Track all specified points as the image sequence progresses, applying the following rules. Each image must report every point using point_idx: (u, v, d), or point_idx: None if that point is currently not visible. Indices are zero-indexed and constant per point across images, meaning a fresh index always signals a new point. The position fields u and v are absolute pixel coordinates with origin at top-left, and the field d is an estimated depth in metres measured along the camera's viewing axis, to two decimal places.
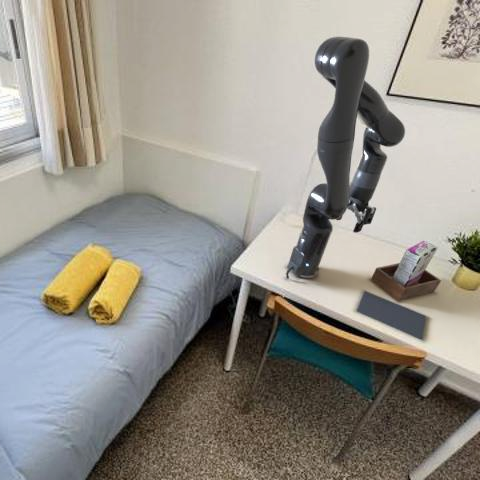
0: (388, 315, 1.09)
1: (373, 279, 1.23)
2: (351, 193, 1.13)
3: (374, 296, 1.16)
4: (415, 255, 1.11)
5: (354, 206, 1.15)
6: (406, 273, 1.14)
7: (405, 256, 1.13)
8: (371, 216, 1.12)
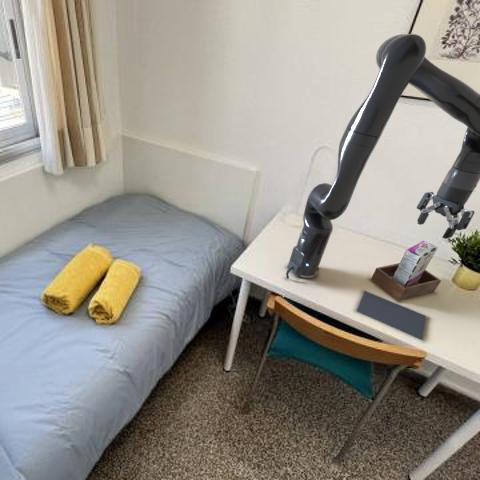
0: (388, 315, 1.09)
1: (373, 279, 1.23)
2: (445, 195, 1.01)
3: (374, 296, 1.16)
4: (415, 255, 1.11)
5: (446, 209, 1.03)
6: (406, 273, 1.14)
7: (405, 256, 1.13)
8: (468, 220, 1.00)
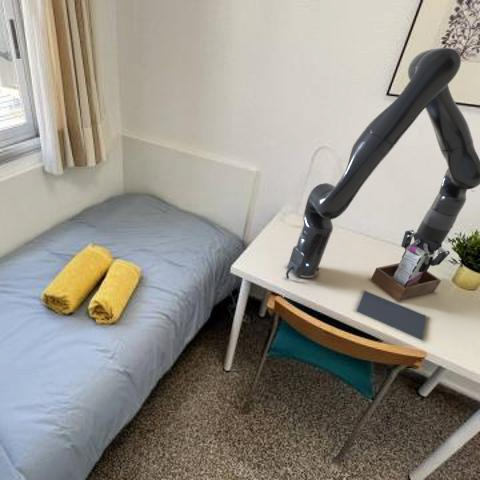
0: (388, 315, 1.09)
1: (373, 279, 1.23)
2: (424, 233, 1.09)
3: (374, 296, 1.16)
4: (415, 255, 1.11)
5: (425, 246, 1.10)
6: (407, 273, 1.14)
7: (405, 256, 1.13)
8: (442, 259, 1.08)
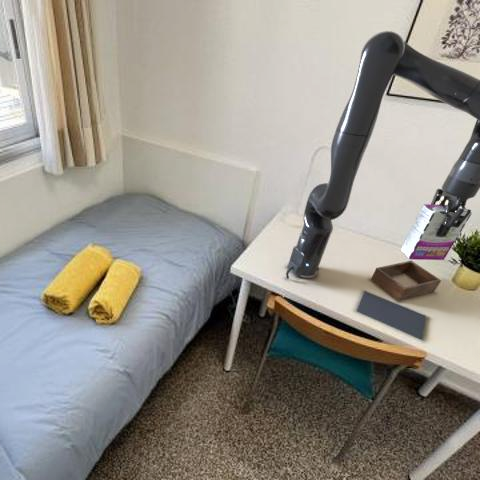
0: (388, 315, 1.09)
1: (373, 279, 1.23)
2: (445, 185, 0.94)
3: (374, 296, 1.16)
4: (429, 211, 0.97)
5: (446, 203, 0.95)
6: (418, 232, 1.00)
7: (421, 212, 1.00)
8: (460, 219, 0.92)
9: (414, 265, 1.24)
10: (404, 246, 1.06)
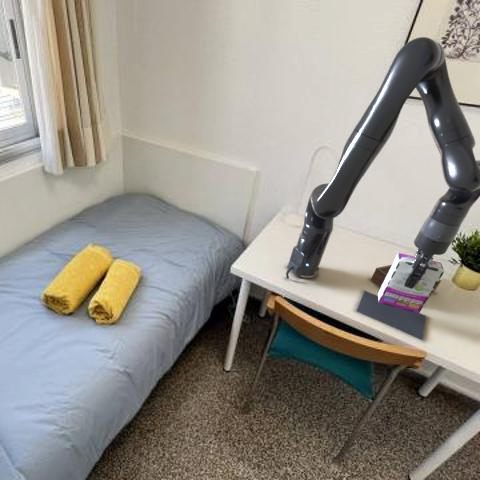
0: (388, 315, 1.09)
1: (373, 279, 1.23)
2: None
3: (374, 296, 1.16)
4: (398, 259, 1.01)
5: (415, 255, 0.98)
6: (388, 278, 1.04)
7: (394, 260, 1.03)
8: (419, 272, 0.95)
9: None
10: (380, 290, 1.10)
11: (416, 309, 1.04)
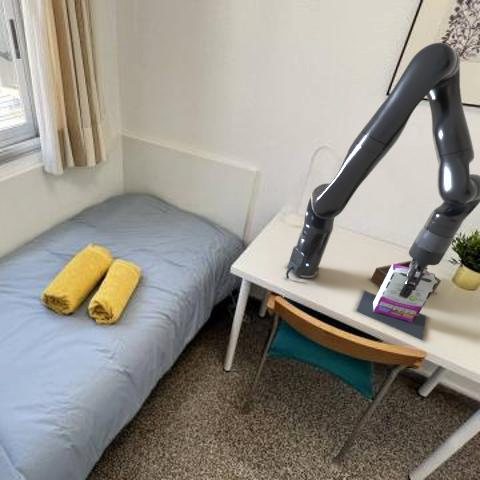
0: None
1: (373, 279, 1.23)
2: (410, 248, 0.99)
3: (374, 296, 1.16)
4: (392, 270, 1.03)
5: (410, 265, 1.00)
6: (383, 288, 1.06)
7: (389, 271, 1.06)
8: (415, 281, 0.95)
9: None
10: (375, 299, 1.12)
11: (410, 319, 1.06)
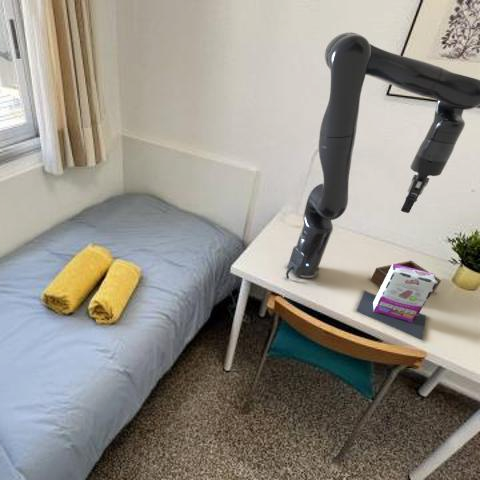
0: None
1: (373, 279, 1.23)
2: (412, 163, 1.01)
3: (374, 296, 1.16)
4: (392, 270, 1.03)
5: None
6: (383, 288, 1.06)
7: (389, 271, 1.06)
8: (416, 191, 0.97)
9: (414, 265, 1.24)
10: (375, 299, 1.12)
11: (410, 319, 1.06)
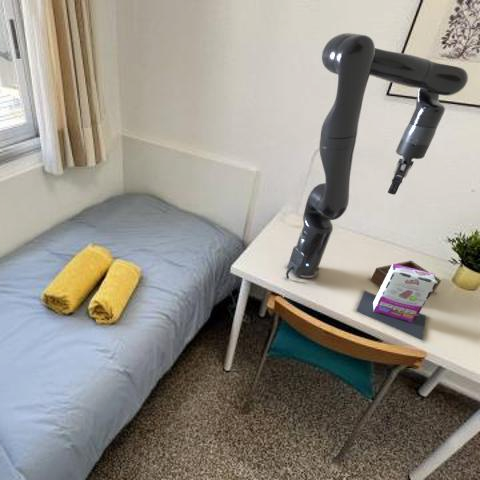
0: None
1: (373, 279, 1.23)
2: (397, 147, 1.07)
3: (374, 296, 1.16)
4: (392, 270, 1.03)
5: (397, 163, 1.08)
6: (383, 288, 1.06)
7: (389, 270, 1.06)
8: (401, 173, 1.04)
9: (414, 265, 1.24)
10: (375, 299, 1.12)
11: (410, 319, 1.06)
